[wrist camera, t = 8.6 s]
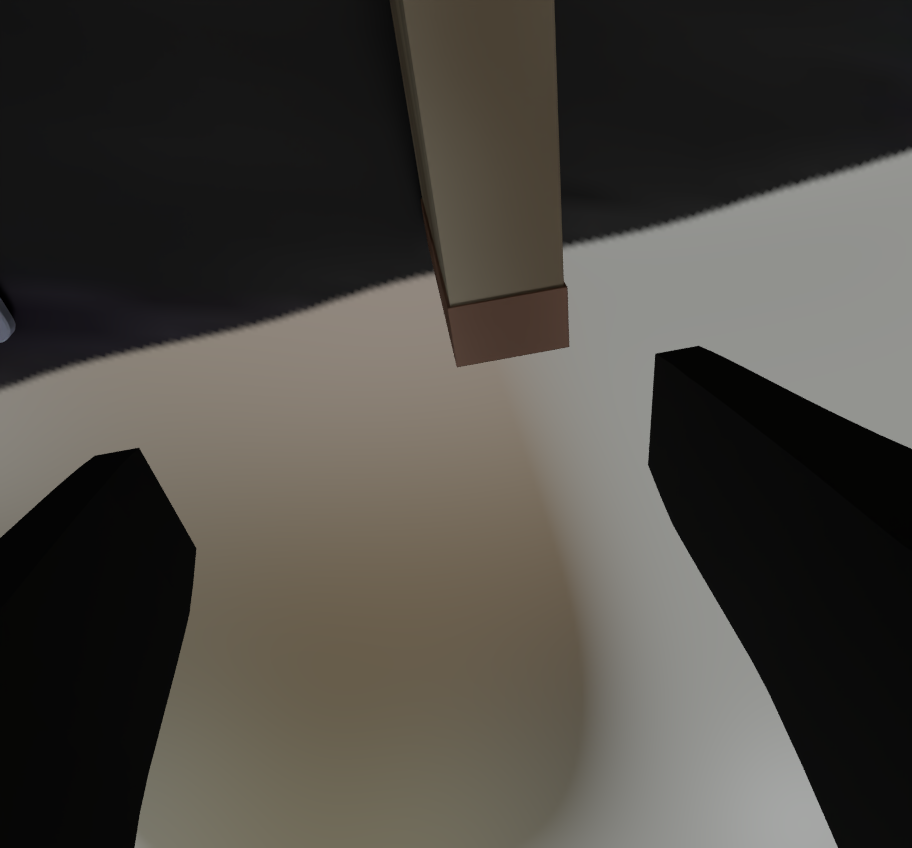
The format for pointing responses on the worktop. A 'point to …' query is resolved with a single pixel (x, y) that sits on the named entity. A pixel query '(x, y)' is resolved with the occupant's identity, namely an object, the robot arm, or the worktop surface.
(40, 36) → the worktop surface
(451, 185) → the brown-tipped cream rod
